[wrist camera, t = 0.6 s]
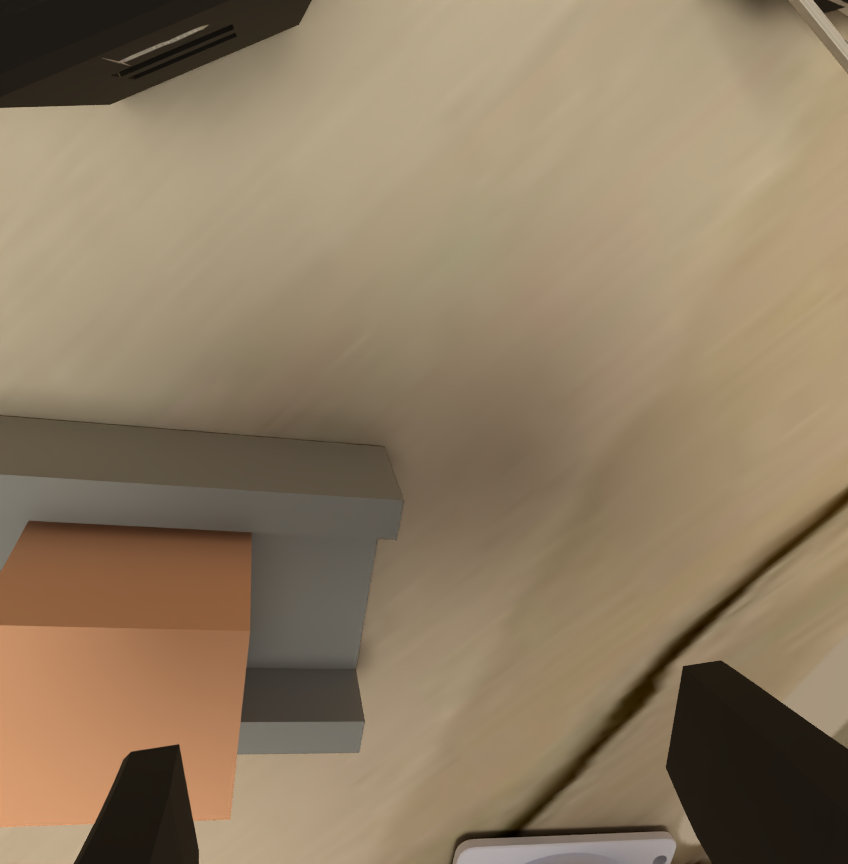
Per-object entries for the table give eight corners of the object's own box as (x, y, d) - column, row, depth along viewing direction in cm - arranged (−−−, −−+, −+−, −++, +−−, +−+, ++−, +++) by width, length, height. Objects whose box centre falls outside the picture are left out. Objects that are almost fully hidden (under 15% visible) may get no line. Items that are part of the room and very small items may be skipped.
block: (252, 504, 19) (250, 631, 14) (236, 660, 21) (230, 818, 16) (44, 491, 18) (-28, 624, 13) (45, 657, 19) (-20, 827, 15)
